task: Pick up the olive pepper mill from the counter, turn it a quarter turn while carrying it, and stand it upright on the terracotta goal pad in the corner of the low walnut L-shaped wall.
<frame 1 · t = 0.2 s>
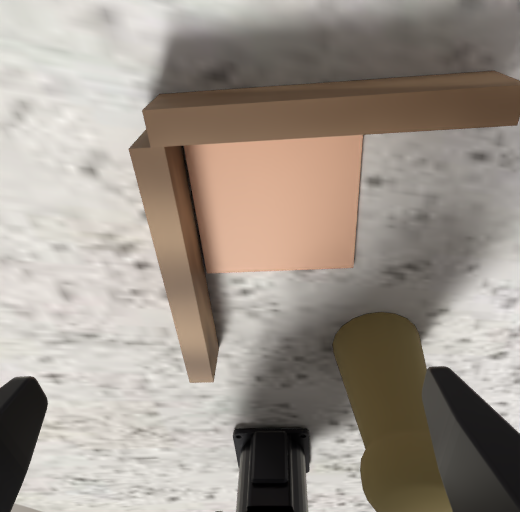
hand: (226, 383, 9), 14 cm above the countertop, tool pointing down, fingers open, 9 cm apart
olive pepper mill: (374, 341, 29), on the countertop
corner arena: (303, 253, 24), on the countertop
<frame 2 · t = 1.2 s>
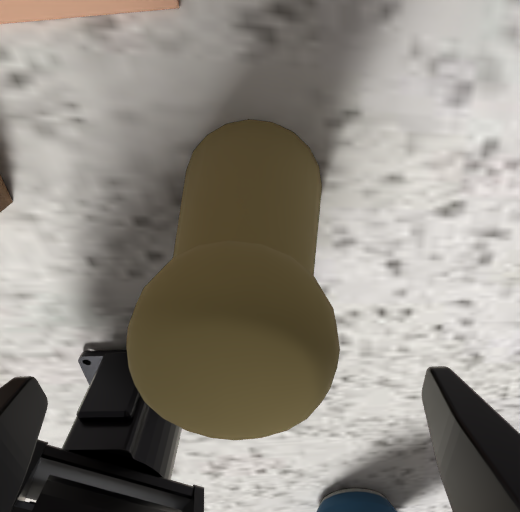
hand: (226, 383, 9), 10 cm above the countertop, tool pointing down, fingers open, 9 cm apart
olive pepper mill: (253, 186, 18), on the countertop
soda can: (353, 502, 34), on the countertop
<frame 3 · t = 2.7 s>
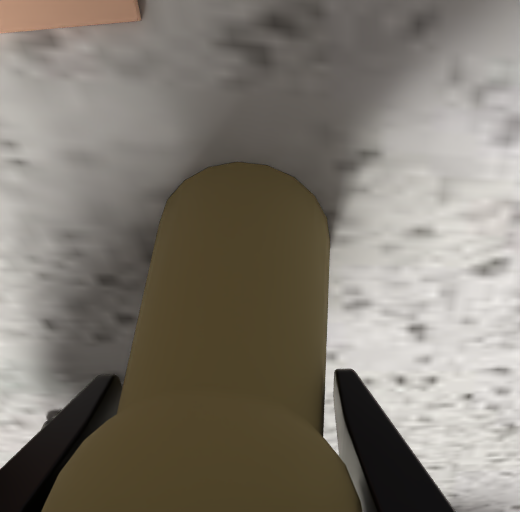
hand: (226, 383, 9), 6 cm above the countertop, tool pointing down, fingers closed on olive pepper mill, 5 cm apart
olive pepper mill: (244, 241, 14), on the countertop, touching gripper
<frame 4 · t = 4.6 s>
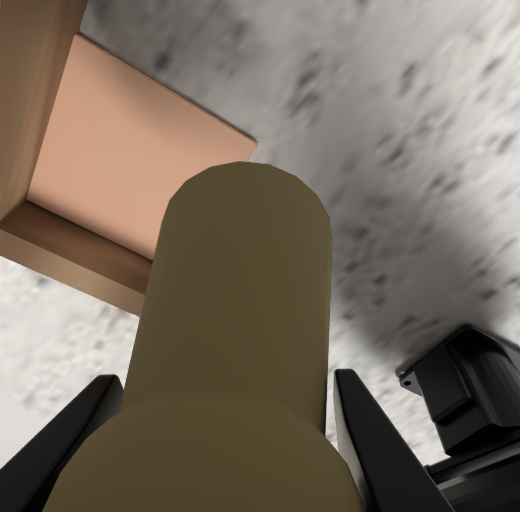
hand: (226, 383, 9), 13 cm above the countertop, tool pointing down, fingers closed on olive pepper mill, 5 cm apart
olive pepper mill: (246, 240, 14), point 7 cm above the countertop, touching gripper
corner arena: (211, 181, 21), on the countertop
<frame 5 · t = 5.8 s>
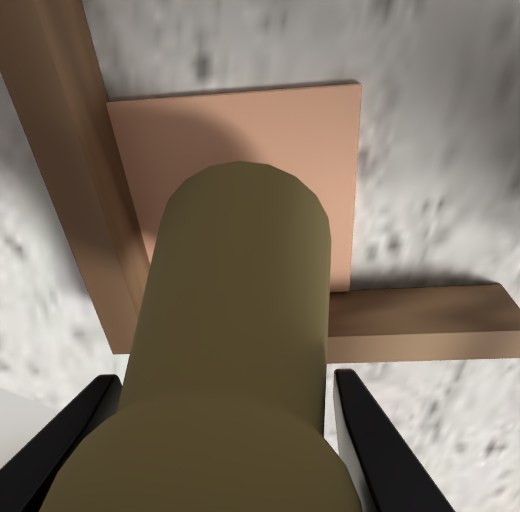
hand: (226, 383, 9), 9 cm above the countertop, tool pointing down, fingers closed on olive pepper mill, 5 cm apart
olive pepper mill: (245, 240, 14), point 3 cm above the countertop, touching gripper
corner arena: (329, 167, 16), on the countertop
when the fingers open (8 cm above the countertop, at t = 6.8 s): olive pepper mill drops 1 cm, resting on corner arena.
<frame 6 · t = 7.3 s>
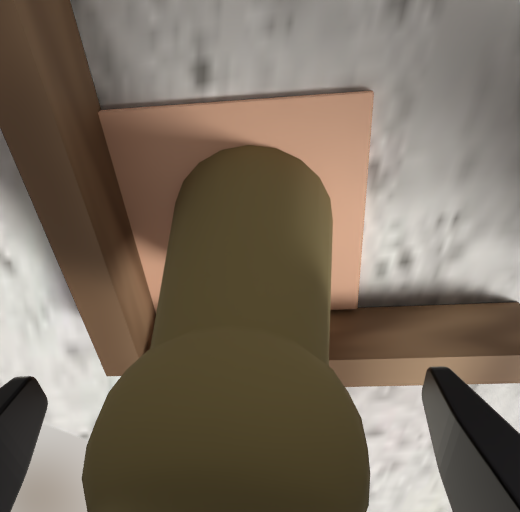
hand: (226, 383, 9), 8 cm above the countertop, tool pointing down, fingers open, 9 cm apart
olive pepper mill: (253, 219, 16), resting on corner arena
corner arena: (337, 179, 15), on the countertop
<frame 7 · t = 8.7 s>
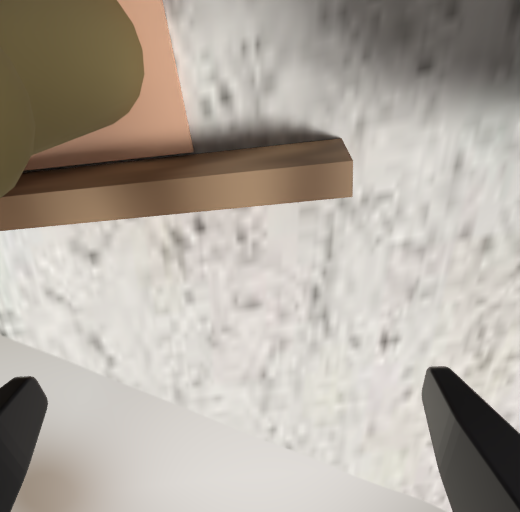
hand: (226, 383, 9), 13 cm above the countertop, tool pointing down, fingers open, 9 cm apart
olive pepper mill: (73, 55, 17), resting on corner arena
corner arena: (138, 6, 16), on the countertop
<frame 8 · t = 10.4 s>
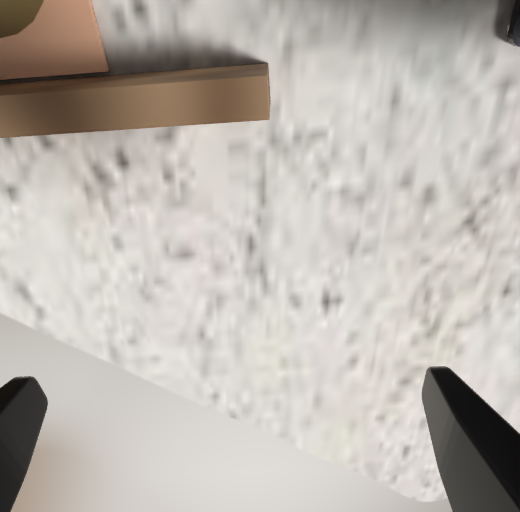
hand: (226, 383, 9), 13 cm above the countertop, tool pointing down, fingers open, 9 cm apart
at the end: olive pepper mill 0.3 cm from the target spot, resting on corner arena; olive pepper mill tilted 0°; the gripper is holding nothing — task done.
